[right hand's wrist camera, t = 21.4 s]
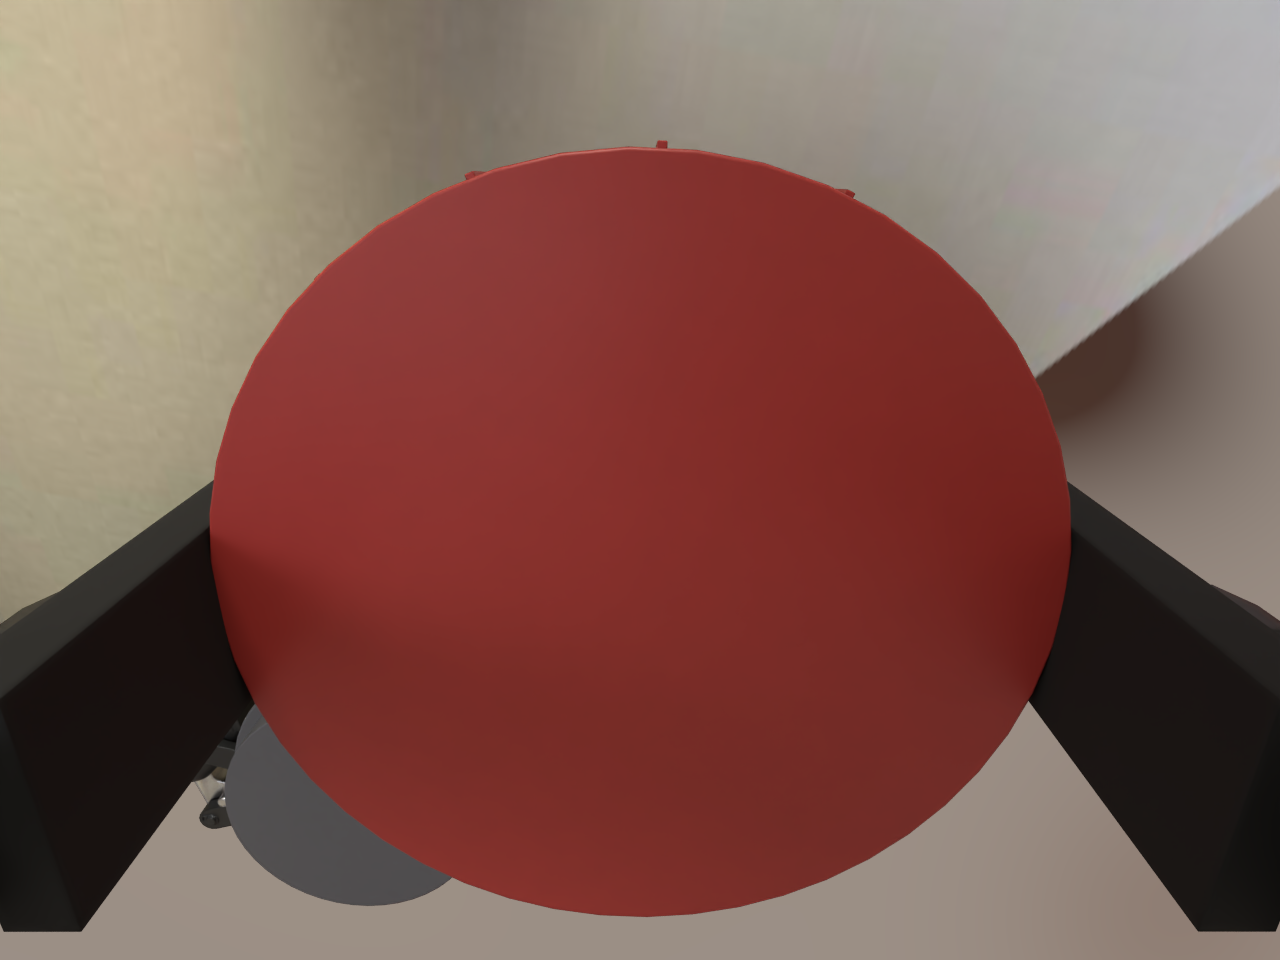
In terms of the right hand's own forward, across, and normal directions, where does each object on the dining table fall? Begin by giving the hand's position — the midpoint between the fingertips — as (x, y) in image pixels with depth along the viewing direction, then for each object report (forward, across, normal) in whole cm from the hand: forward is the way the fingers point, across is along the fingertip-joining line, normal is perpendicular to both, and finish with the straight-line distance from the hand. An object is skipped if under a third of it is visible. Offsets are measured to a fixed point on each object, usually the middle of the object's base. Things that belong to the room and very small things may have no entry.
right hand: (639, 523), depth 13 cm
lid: (-3, 0, 0) cm, 3 cm away
